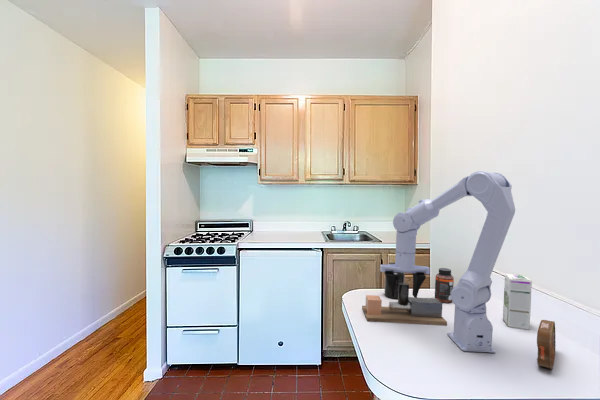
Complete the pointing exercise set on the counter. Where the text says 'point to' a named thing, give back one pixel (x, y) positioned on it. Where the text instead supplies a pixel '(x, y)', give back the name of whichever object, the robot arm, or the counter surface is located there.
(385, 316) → the base board
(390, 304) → the slide bolt
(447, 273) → the supplement bottle
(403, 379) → the counter surface
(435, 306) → the sleeve
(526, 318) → the syrup box
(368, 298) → the socket
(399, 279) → the supplement bottle
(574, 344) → the counter surface
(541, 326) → the tin
